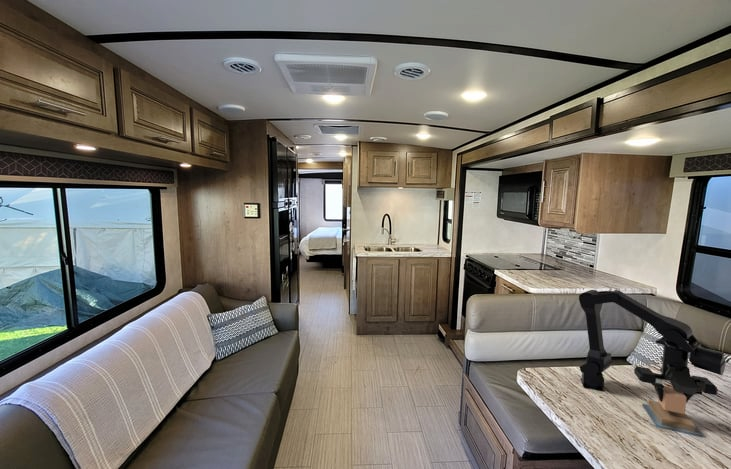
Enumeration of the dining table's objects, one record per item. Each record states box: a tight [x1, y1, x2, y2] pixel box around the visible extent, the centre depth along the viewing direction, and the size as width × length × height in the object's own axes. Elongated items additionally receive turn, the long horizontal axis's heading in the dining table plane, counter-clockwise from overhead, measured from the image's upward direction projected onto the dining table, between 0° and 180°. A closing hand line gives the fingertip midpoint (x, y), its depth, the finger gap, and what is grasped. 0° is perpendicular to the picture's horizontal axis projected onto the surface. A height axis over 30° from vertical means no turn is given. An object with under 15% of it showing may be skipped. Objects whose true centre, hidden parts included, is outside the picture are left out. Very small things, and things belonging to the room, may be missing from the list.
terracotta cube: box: [657, 385, 687, 414], centre depth 99 cm, size 5×5×6 cm
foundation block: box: [641, 399, 703, 438], centre depth 99 cm, size 11×11×3 cm
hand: (671, 403), depth 99 cm, fingers closed on terracotta cube, 5 cm apart
